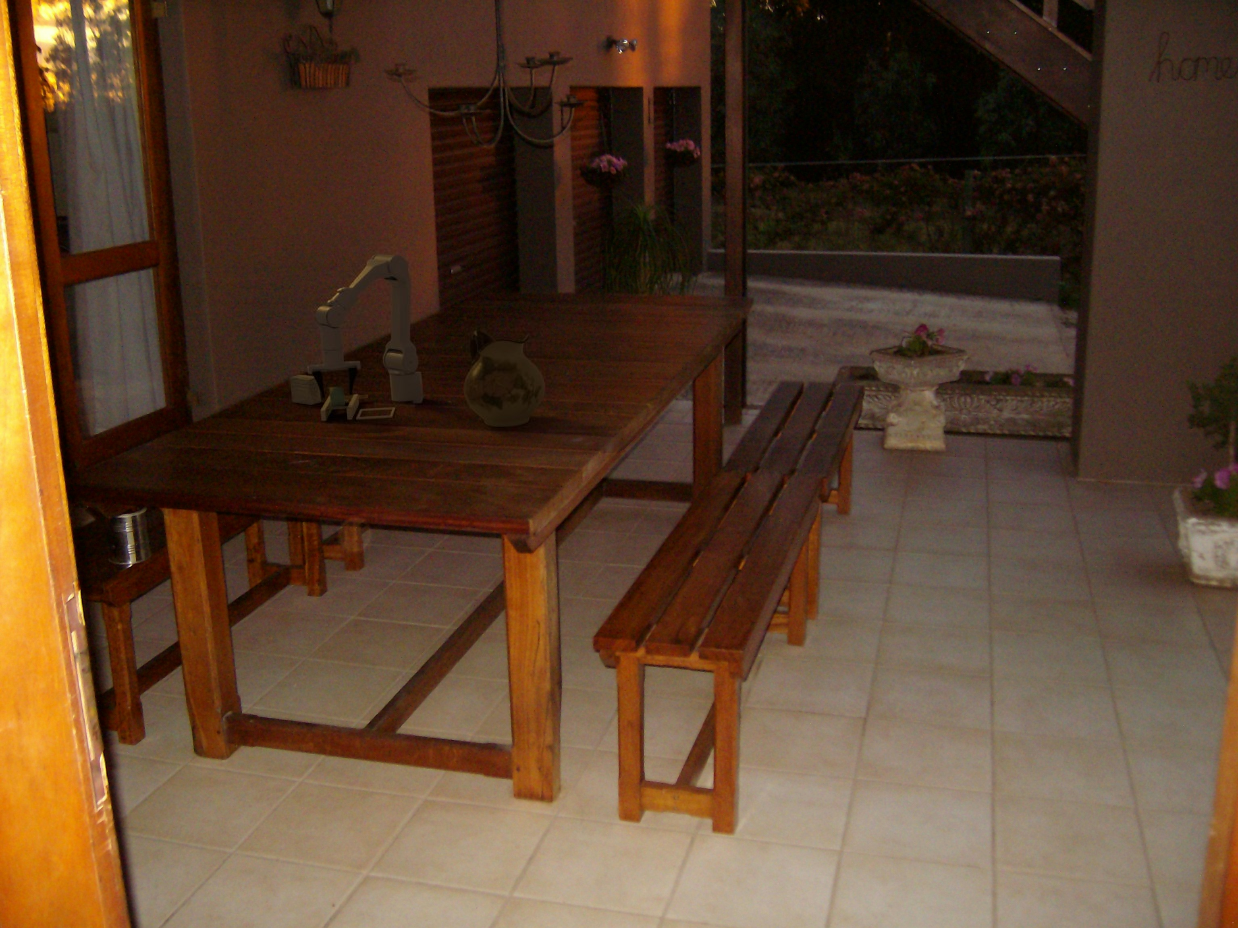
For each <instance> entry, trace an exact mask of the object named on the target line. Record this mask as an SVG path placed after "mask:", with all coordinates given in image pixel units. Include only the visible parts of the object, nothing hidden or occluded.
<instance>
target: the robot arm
mask: <svg viewBox="0 0 1238 928" xmlns="http://www.w3.org/2000/svg"><path fill="white" fill-rule="evenodd" d="M377 279H384V280H385V281H386V282H387V283H388V284H389V285H390V287H391V314H390V315H391V319H390V320H391V325H390V340H389V341H388V342H387V343H386V344H385V351H384V354H383V356H382V364H383V366H384V367H385V369H387V372H388V374H389V383H390V385H389V386H390V394H391V401H392V402H393V401H394V402H409V401H412V404H422V402H423V400H424V390H423V379H422V372H421V371H416V370H417V369H418V366H419V357H418V354H417V347H416V346H415V344H414V343H413V342H412V341H411V302H412V300H411V295H412V292H411V291H412V280H411V277H410V273H409V262H408V261H407V260H406V258H405V257H403V256H402V255H399V254H395V255H393V254H383V253H375V254H374V255H372V257H371V258H370V259H368V260H367V262H366V266H365V268H363V269H362V271H361V272H360V274H358V276H356V278H355V279H354V280H353V282H352V283H351V284H350V285H349V286H348V287H346V286H344V287H340V288H338V289H337V291H336V294H335V295H334V296H332V297H331V299H329V300H328V301H326V304H325V305H321V306H319V307H318V308H317V310H316V311H315V315H314V316H313V319H314V322H315V323H316V325H317V326H318V331H319V335H320V344H321V352H322V363H318V364H311V365H307V366H306V367H307V373H308V375H311V376H314V378H315V380H316V382H317V384H318V386H319V389H320V395H321V399H325V398H326V395H325V390H324V389H325V388H324V379H323V378H324V377H323V374H322V373H323V372H324V373H325V372H327V373H328V372H335V371H346V375H347V381H348V382H347V386H348V389H347V390H348V394H349V396H350V395H353V389H354V384H355V380H356V378H357V375H358V373H359V372H358V370H361V368H362V367H361V366H362V365H361V362H360V360H355V361H353V360H352V361H351V360H349V361H344V360H345V359H344V348H343V338H342V337H343V336H342V327H341V326H342V325H343V324H344V323H345V317H346V316H347V314H348V313H349V312H350V311H351V309H353V308H354V306H355V305H357V303H358V302H359V295H361V294H362V292H364V291H365V290H366V289H367V288H368V287H369V286H370V285H372V284H373V282H375V281H376V280H377Z"/></svg>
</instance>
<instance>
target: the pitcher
mask: <svg viewBox="0 0 1238 928" xmlns="http://www.w3.org/2000/svg"><path fill="white" fill-rule="evenodd" d="M530 337H531V333H528V334H527V335H526V336H525V338H523V340H522V341H517V340H511V339H504V338H500V339H495V340H494V339H493V338H492V337H491V336H490V335H489V334H488V333H486V332H484V331H482V330H480V329H476V330H474V332H473V333H472V334H471V336H470V337H469V338H470V339H469V348H468V349H469V353H470V358H471V361H472V362H471V364H470V370H469V372H468V373H467V375H466V377H465V380H464V382H463V394H464V398H465V400H466V402H467V405H468V406H469V407H470V408H471V410H472V411H473V412H474V413H475V414H476V415H477V416H479V417H480V418H481V419H482V420H483V422H484V424H486V426H488V427H493V428H513V427H518V426H522V425H525V424H527V423H529V421H530V417H531V415H532V414H533V413H534V412H535V411H536V409H537V408H538V407H539V406H540V404H541V402H542V400H543V398H544V396H545V391H546V383H545V378H544V377H543V374H542V373H541V371H540V370H539V369H538V367H537V366H536V365H535V364H534V363H532V361H531V360H530V359H529V358H528V357H526V355H525V354H524V345H525V344H526V343H527V342H528V340H529V339H530Z"/></svg>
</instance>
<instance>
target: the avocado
mask: <svg viewBox="0 0 1238 928" xmlns="http://www.w3.org/2000/svg"><path fill="white" fill-rule="evenodd" d="M329 396H330V404H331V407H339V406H346V402H345V397H344V396H345V386H336V387H335V386H334V387H329Z"/></svg>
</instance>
